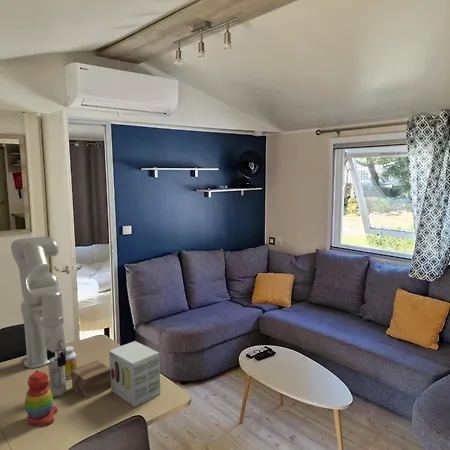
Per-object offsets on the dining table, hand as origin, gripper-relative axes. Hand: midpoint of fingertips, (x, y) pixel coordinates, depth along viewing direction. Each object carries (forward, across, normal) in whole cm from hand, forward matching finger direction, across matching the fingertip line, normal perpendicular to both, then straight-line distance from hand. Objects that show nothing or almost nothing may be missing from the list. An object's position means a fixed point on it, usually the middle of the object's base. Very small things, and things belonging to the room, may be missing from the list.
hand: (56, 362), depth 166 cm
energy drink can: (+14, -1, 0) cm, 14 cm away
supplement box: (+15, +22, +22) cm, 34 cm away
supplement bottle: (+14, -12, +10) cm, 21 cm away
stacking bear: (+14, +11, -12) cm, 21 cm away
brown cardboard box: (+14, +5, +12) cm, 19 cm away
